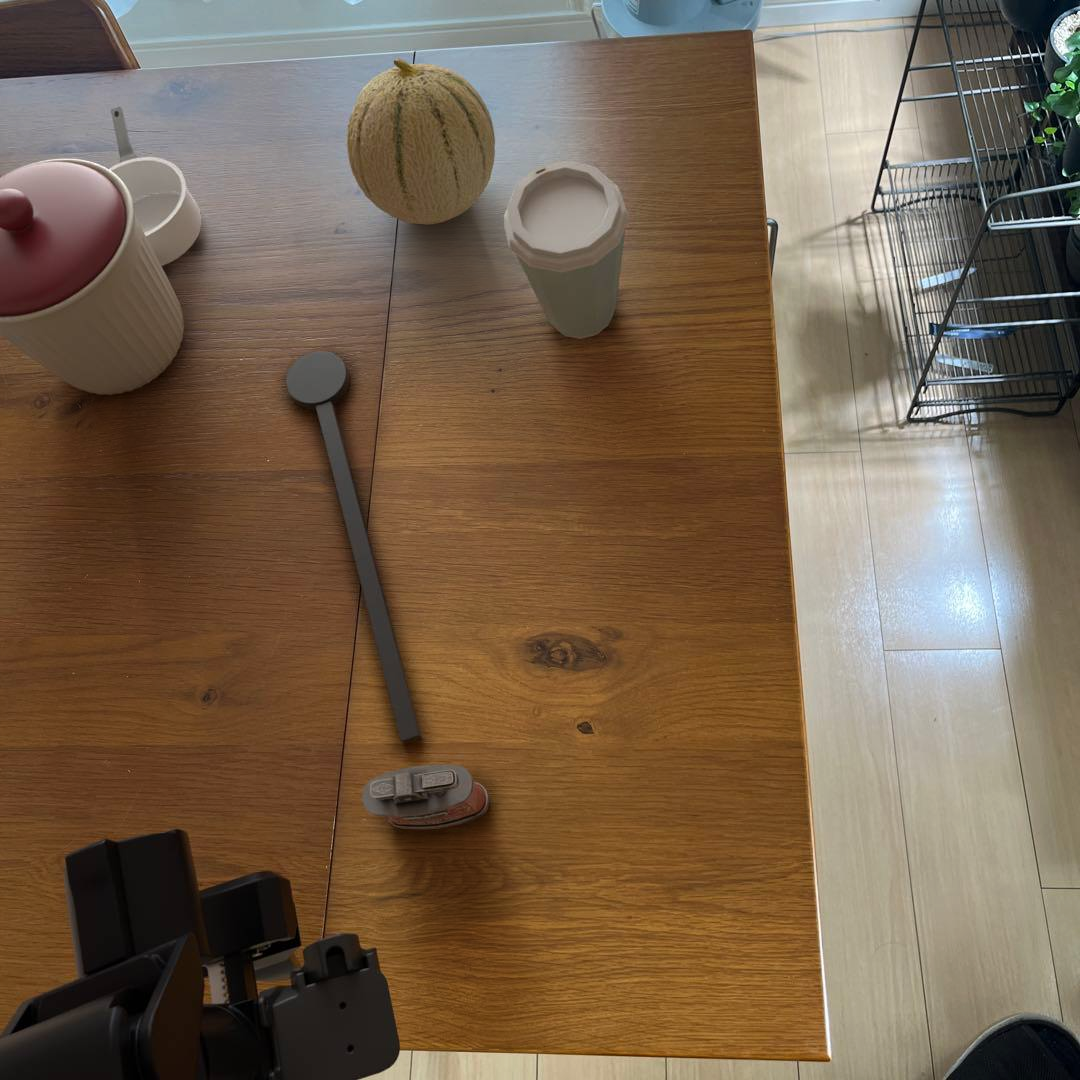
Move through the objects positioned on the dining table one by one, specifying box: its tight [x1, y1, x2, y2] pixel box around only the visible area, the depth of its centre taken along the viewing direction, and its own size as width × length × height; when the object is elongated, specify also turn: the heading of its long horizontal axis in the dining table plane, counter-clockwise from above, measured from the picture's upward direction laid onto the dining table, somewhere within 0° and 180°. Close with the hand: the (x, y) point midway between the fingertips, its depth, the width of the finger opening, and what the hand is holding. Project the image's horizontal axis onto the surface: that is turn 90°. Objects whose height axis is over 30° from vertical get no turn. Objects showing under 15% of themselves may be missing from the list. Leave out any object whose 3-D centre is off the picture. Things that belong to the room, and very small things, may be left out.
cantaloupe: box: [346, 58, 496, 225], centre depth 95 cm, size 15×15×15 cm
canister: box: [0, 158, 185, 396], centre depth 89 cm, size 18×18×21 cm
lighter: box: [361, 764, 490, 831], centre depth 71 cm, size 8×3×10 cm, turn 97°
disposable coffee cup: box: [503, 159, 630, 340], centre depth 87 cm, size 11×11×15 cm
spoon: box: [285, 350, 423, 745], centre depth 86 cm, size 40×6×1 cm, turn 18°
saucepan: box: [108, 106, 203, 267], centre depth 104 cm, size 12×20×6 cm, turn 18°
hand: (308, 1052), depth 59 cm, fingers open, 9 cm apart
